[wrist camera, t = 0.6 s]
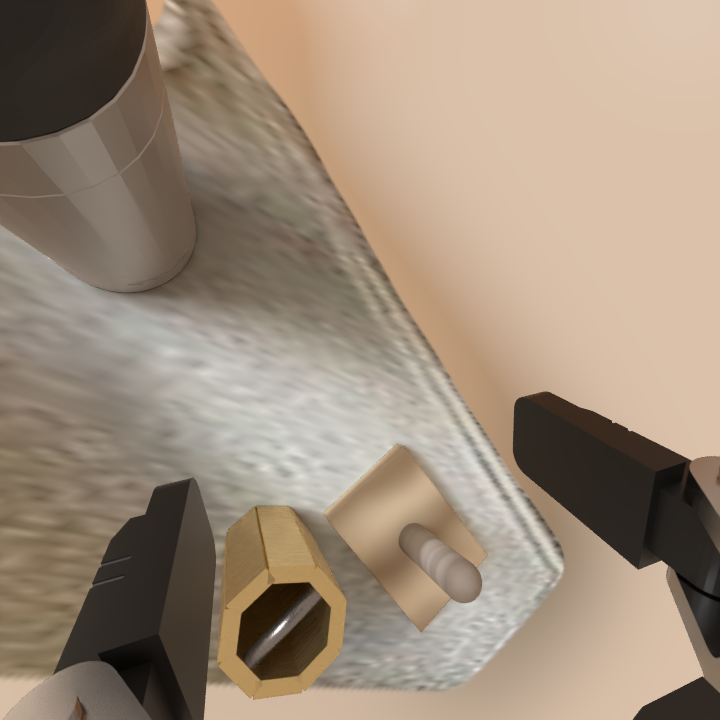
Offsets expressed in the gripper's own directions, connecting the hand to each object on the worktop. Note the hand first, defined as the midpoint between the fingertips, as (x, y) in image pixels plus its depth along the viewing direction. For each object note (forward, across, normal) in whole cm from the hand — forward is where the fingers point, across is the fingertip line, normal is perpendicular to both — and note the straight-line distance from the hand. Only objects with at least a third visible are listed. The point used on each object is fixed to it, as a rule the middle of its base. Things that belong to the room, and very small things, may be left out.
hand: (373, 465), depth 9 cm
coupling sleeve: (+16, +4, +16) cm, 23 cm away
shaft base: (+16, -6, +19) cm, 25 cm away
